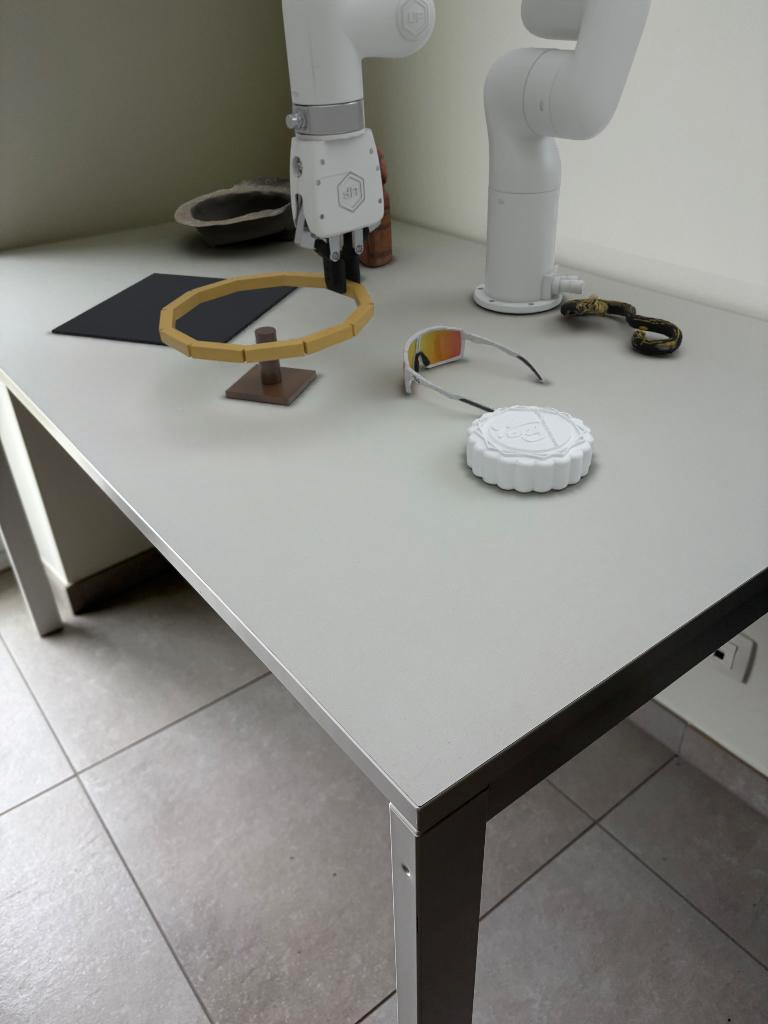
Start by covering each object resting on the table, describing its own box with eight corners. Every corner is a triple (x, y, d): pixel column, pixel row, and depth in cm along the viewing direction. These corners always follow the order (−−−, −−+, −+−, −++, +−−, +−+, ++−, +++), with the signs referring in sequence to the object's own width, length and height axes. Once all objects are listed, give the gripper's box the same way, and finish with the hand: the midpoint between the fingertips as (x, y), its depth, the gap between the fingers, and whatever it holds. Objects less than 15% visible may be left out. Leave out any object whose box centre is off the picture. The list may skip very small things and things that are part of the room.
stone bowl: (338, 225, 152) (333, 174, 146) (269, 275, 135) (261, 219, 129) (229, 214, 161) (221, 165, 155) (152, 259, 144) (139, 206, 138)
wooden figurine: (402, 263, 132) (399, 145, 122) (366, 269, 130) (360, 150, 120) (373, 246, 141) (368, 134, 131) (340, 251, 139) (332, 139, 129)
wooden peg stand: (316, 376, 96) (311, 320, 92) (288, 405, 90) (282, 347, 86) (257, 369, 99) (249, 314, 95) (226, 397, 92) (216, 340, 88)
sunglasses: (442, 349, 101) (447, 312, 98) (549, 391, 95) (558, 353, 92) (377, 391, 92) (380, 352, 89) (491, 441, 86) (499, 401, 82)
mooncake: (456, 436, 83) (456, 405, 81) (569, 427, 83) (573, 396, 81) (479, 499, 73) (480, 465, 71) (607, 488, 73) (612, 454, 71)
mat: (298, 286, 124) (297, 284, 124) (216, 350, 104) (215, 348, 104) (154, 275, 132) (154, 272, 132) (52, 332, 112) (51, 330, 111)
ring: (398, 289, 95) (398, 277, 95) (323, 371, 78) (321, 358, 77) (225, 277, 102) (223, 267, 102) (119, 351, 85) (116, 338, 84)
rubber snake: (695, 314, 95) (618, 331, 93) (692, 350, 97) (617, 368, 96) (620, 274, 109) (552, 289, 108) (619, 307, 112) (552, 322, 110)
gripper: (290, 135, 78) (309, 314, 89) (407, 111, 86) (412, 279, 97) (248, 127, 83) (271, 299, 94) (363, 106, 91) (373, 266, 102)
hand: (343, 287), depth 95 cm, fingers closed on ring, 1 cm apart
